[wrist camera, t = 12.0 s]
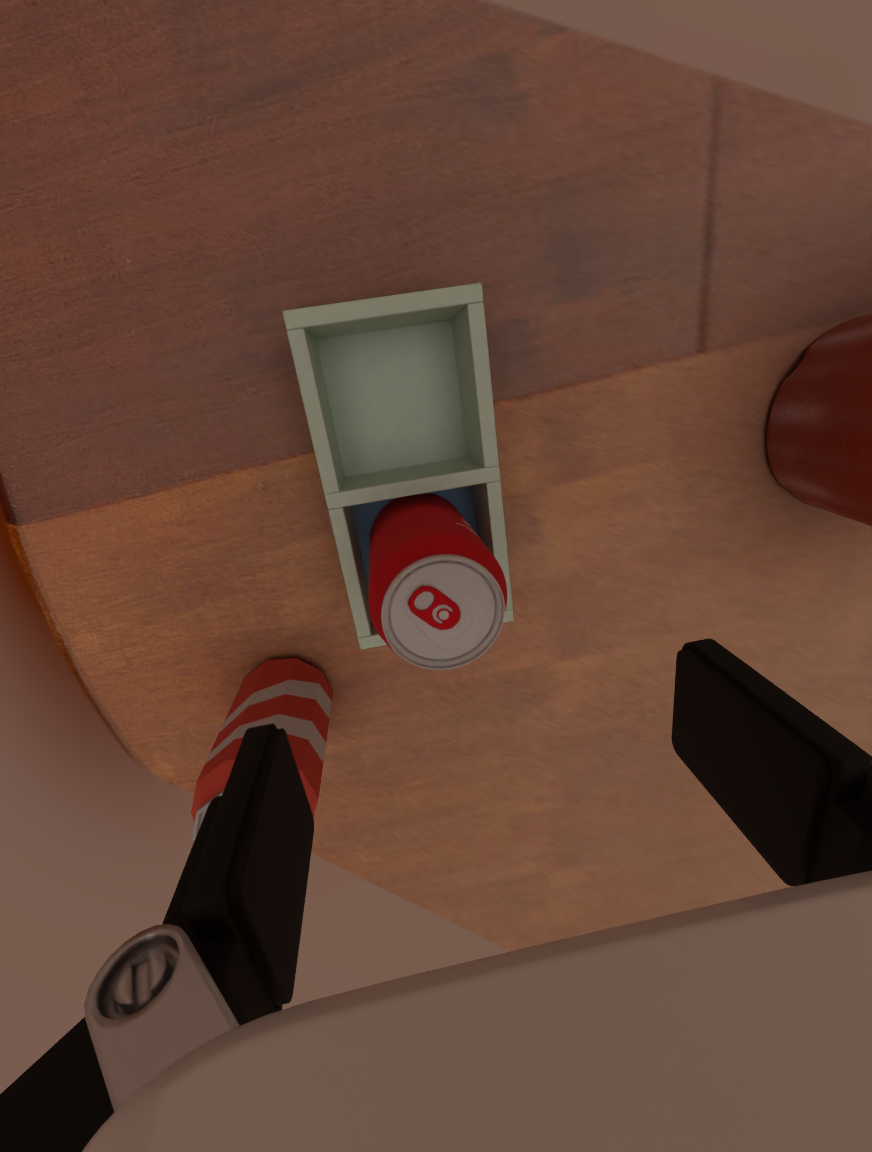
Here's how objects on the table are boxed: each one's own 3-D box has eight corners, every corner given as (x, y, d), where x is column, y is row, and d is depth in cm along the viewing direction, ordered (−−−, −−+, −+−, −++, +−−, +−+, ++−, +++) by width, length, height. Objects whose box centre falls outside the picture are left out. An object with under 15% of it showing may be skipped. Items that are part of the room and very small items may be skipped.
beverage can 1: (337, 721, 36) (321, 868, 25) (249, 730, 35) (192, 884, 24) (329, 650, 34) (307, 775, 23) (235, 658, 33) (165, 790, 22)
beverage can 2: (425, 600, 32) (452, 706, 21) (350, 546, 31) (336, 632, 19) (485, 529, 31) (547, 602, 20) (411, 468, 29) (434, 512, 18)
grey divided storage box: (299, 327, 27) (281, 310, 21) (461, 304, 27) (482, 282, 22) (362, 610, 33) (360, 650, 28) (492, 586, 34) (514, 621, 28)
